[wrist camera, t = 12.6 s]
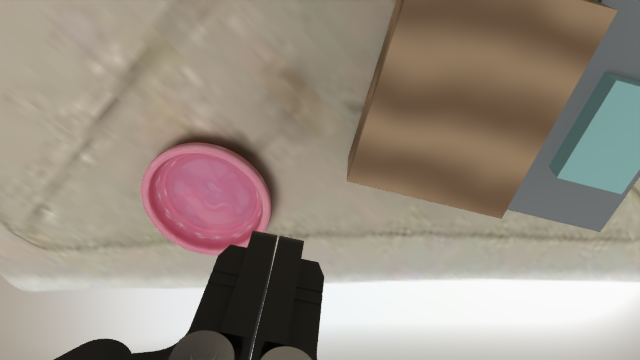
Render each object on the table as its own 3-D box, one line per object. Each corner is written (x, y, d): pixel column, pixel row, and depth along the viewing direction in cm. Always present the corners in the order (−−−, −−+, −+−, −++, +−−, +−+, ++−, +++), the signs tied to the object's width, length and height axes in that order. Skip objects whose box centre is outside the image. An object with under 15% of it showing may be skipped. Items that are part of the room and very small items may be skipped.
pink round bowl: (152, 224, 49) (140, 243, 47) (152, 119, 43) (138, 134, 40) (266, 247, 50) (261, 267, 47) (284, 146, 43) (279, 163, 40)
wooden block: (412, -51, 34) (418, -45, 30) (592, -1, 34) (618, 10, 31) (348, 158, 43) (346, 181, 40) (490, 193, 44) (501, 218, 40)
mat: (606, -14, 34) (608, -13, 34) (743, 24, 35) (747, 26, 34) (491, 203, 44) (492, 205, 44) (598, 229, 45) (600, 231, 45)
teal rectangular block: (689, 100, 35) (674, 90, 37) (616, 80, 35) (604, 71, 37) (621, 194, 40) (611, 182, 42) (556, 177, 40) (548, 166, 41)
